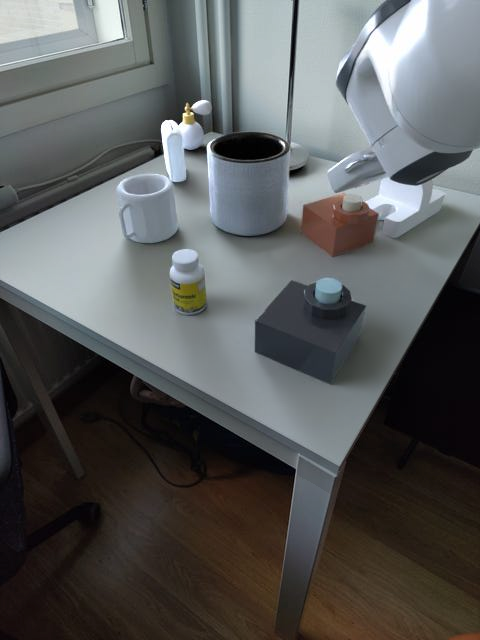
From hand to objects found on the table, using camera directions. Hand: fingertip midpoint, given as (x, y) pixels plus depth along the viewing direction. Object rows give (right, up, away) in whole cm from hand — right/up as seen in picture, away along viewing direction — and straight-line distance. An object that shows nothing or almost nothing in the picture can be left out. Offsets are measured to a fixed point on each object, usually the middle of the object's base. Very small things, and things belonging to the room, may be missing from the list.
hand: (358, 182), depth 80 cm
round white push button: (0, -3, +5) cm, 6 cm away
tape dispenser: (+13, -2, +18) cm, 22 cm away
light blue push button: (-8, -21, -14) cm, 26 cm away
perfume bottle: (-33, +24, +48) cm, 63 cm away
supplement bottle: (-29, -22, -3) cm, 36 cm away
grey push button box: (-10, -27, -11) cm, 31 cm away
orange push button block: (-1, -7, +12) cm, 14 cm away
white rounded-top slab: (-36, +12, +35) cm, 52 cm away
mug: (-39, -6, +14) cm, 42 cm away
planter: (-19, -3, +18) cm, 26 cm away
